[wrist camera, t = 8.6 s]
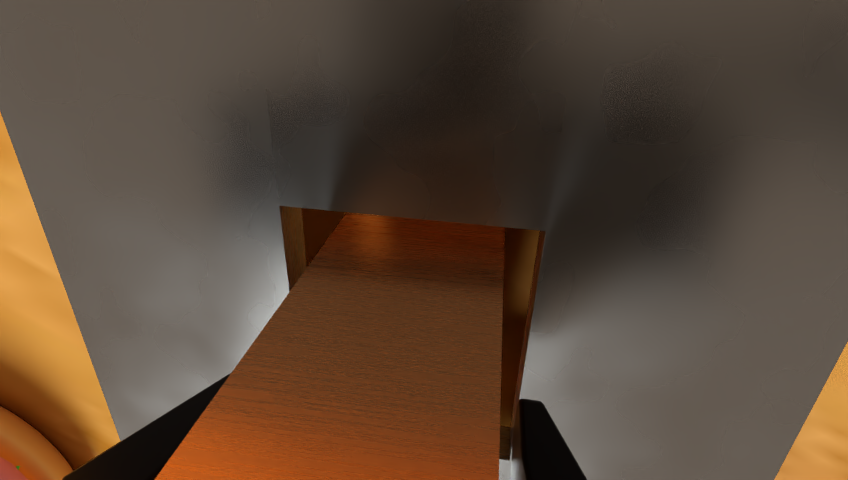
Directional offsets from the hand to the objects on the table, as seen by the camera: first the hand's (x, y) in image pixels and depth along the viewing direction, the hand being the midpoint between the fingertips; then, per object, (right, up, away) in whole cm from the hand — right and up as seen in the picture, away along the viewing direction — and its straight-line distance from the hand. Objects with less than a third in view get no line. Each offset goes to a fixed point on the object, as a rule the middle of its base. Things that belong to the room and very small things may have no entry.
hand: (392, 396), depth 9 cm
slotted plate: (+1, +2, +4) cm, 4 cm away
